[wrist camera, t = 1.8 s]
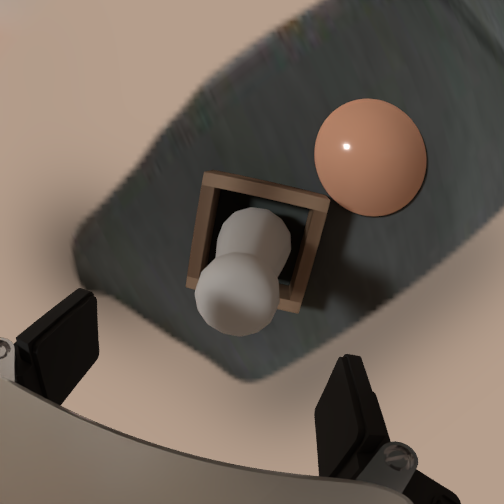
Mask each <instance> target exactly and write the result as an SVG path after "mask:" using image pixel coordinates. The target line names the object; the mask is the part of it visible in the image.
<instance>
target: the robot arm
mask: <svg viewBox="0 0 504 504" xmlns="http://www.w3.org/2000/svg"><path fill="white" fill-rule="evenodd" d="M97 322H98V321H97V299H96V297H94V294H93V293H92V292H90V291H87V290H85V289H82V288H79V289H77V290H76V291H74V292H73V293H72V294H70V295H69V296H68V297H66V298H65V299H64V300H62V301H61V302H60V303H59V304H57V305H56V306H55V307H53V308H52V309H51V310H50V311H48V312H47V313H46V314H45V315H43V316H42V317H41V318H39V319H38V320H37V321H36V322H34V323H33V324H32V325H31V326H30V327H28V328H27V329H26V330H25V331H23V332H22V333H21V334H20V335H18V336H17V337H16V340H17V341H16V342H15V343H14V344H13V343H12V342H11V341H10V340H8V339H6V338H2V337H0V504H461V503H460V500H459V498H458V497H457V495H456V494H454V493H453V492H452V491H450V490H448V489H447V488H445V487H444V486H442V485H440V484H439V483H437V482H435V481H434V480H432V479H431V478H429V477H427V476H426V475H424V474H423V473H421V472H420V471H418V470H416V468H417V465H418V458H417V455H416V453H415V452H414V451H413V449H412V448H410V447H409V446H408V445H406V444H403V443H401V442H390V438H389V435H388V432H387V428H386V425H385V422H384V419H383V415H382V412H381V409H380V406H379V403H378V400H377V397H376V394H375V393H374V392H373V391H372V389H371V386H370V383H369V380H368V377H367V374H366V371H365V368H364V365H363V362H362V359H361V357H360V356H355V355H350V354H345V355H344V356H343V357H339V358H338V360H337V363H336V365H335V367H334V370H333V372H332V374H331V376H330V378H329V380H328V383H327V385H326V387H325V389H324V391H323V393H322V396H321V398H320V400H319V402H318V404H317V406H316V408H315V427H316V439H317V453H318V467H319V476H310V475H300V474H291V473H284V472H276V471H270V470H263V469H257V468H250V467H245V466H240V465H234V464H230V463H225V462H220V461H216V460H211V459H207V458H203V457H199V456H195V455H191V454H187V453H184V452H180V451H177V450H173V449H170V448H167V447H163V446H160V445H157V444H154V443H151V442H148V441H145V440H142V439H139V438H136V437H133V436H130V435H128V434H125V433H122V432H120V431H117V430H114V429H112V428H109V427H107V426H104V425H102V424H99V423H97V422H95V421H92V420H90V419H88V418H86V417H83V416H81V415H79V414H77V413H75V412H72V411H70V410H68V409H66V408H64V407H62V406H61V404H62V403H63V402H64V400H65V399H66V398H67V397H68V395H69V394H70V393H71V391H72V390H73V389H74V388H75V386H76V385H77V384H78V382H79V381H80V380H81V379H82V377H83V376H84V375H85V374H86V372H87V371H88V370H89V369H90V368H91V366H92V365H93V364H94V363H95V361H96V360H97V359H98V356H99V341H98V323H97Z"/></svg>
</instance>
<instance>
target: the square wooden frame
mask: <svg viewBox="0 0 504 504" xmlns="http://www.w3.org/2000/svg"><path fill="white" fill-rule="evenodd" d="M221 189H225V190H230V191H235V192H239V193H244V194H249V195H253V196H258V197H262V198H267V199H271V200H275V201H280V202H284V203H288V204H292V205H297V206H301V207H305V208H309V213H308V217H307V221H306V225H305V229H304V233H303V237H302V241H301V245H300V248H299V252H298V256H297V260H296V263H295V267H294V271H293V274H292V278H291V282H290V285H289V286H288V285H283V284H279V298H280V303H279V305H278V307H277V309H280V310H284V311H289V312H293V313H299V310H300V306H301V303H302V300H303V297H304V293H305V290H306V287H307V283H308V280H309V276H310V273H311V270H312V266H313V263H314V259H315V256H316V252H317V248H318V245H319V241H320V238H321V234H322V230H323V226H324V223H325V219H326V215H327V211H328V207H329V203H330V199H329V198H328V197H327V196H326V195H323V194H319V193H315V192H311V191H307V190H303V189H299V188H295V187H290V186H286V185H282V184H277V183H273V182H269V181H264V180H260V179H255V178H250V177H246V176H241V175H236V174H231V173H226V172H221V171H216V170H210V171H206V172H204V176H203V181H202V186H201V192H200V198H199V204H198V209H197V215H196V221H195V228H194V234H193V240H192V247H191V253H190V260H189V267H188V274H187V281H186V287H187V288H191V289H195V290H196V286H197V283H198V281H199V278H200V275H201V272H202V271H203V270H204V269H205V268H206V267H207V264H208V259H209V253H210V247H211V241H212V236H213V230H214V224H215V219H216V213H217V208H218V203H219V197H220V192H221Z"/></svg>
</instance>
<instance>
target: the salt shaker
mask: <svg viewBox="0 0 504 504" xmlns="http://www.w3.org/2000/svg"><path fill="white" fill-rule="evenodd" d="M290 252H291V234H290V232H289V230H288V229H287V227H286V225H285V224H284V222H283V220H282V219H281V218H279V217H278V216H277V215H275V214H274V213H272V212H271V211H269V210H268V209H261V208H253V207H250V208H246V209H243V210H239V211H236V212H234V213H233V214H232V215H231V216H230V217H229V218H228V219H227V220H226V221H225V222H224V223H223V225H222V228H221V230H220V233H219V236H218V239H217V248H216V257H215V259H214V260H213V261H212V262H211V263H210V264H209V265H208V266H207V267H206V268H205V269H204V270H203V271H202V272H201V275H200V278H199V281H198V283H197V286H196V290H195V298H196V303H197V308H198V311H199V312H200V314H201V315H202V317H203V318H204V320H205V321H206V323H207V324H208V325H210V326H212V327H213V328H215V329H217V330H218V331H220V332H222V333H224V334H229V335H235V336H244V335H249V334H253V333H257V332H258V331H260V330H261V329H263V328H264V327H265V326H267V325H268V324H269V323H270V322H271V320H272V318H273V316H274V314H275V312H276V309H277V307H278V305H279V303H280V298H279V281H278V279H277V278H278V276H279V274H280V272H281V271H282V269H283V267H284V265H285V263H286V261H287V259H288V256H289V254H290Z"/></svg>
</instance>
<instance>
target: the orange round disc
mask: <svg viewBox="0 0 504 504" xmlns="http://www.w3.org/2000/svg"><path fill="white" fill-rule="evenodd" d="M314 158H315V166H316V170H317V174H318V176H319V179H320V181H321V183H322V185H323V187H324V188H325V190H326V191H327V193H328V194H329V195H330V196H331V197H332V198H333V199H334V200H335V201H336V202H337V203H338V204H340V205H341V206H343V207H344V208H345V209H347V210H349V211H351V212H354V213H357V214H360V215H365V216H383V215H387V214H390V213H393V212H395V211H397V210H399V209H401V208H402V207H404V206H405V205H407V204H408V203H409V202H410V201H411V200H412V199H413V197H414V196H415V195H416V194H417V192H418V190H419V189H420V187H421V184H422V182H423V179H424V176H425V171H426V150H425V145H424V142H423V139H422V136H421V134H420V132H419V130H418V128H417V127H416V125H415V124H414V123H413V121H412V120H411V119H410V118H409V117H408V116H407V115H406V114H405V113H404V112H403V111H401V110H400V109H399V108H397V107H395V106H394V105H392V104H390V103H387V102H384V101H381V100H376V99H359V100H354V101H351V102H348V103H346V104H344V105H342V106H340V107H339V108H337V109H336V110H335V111H333V112H332V113H331V114H330V115H329V116H328V117H327V119H326V120H325V121H324V123H323V124H322V126H321V128H320V130H319V132H318V135H317V138H316V142H315V149H314Z"/></svg>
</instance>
